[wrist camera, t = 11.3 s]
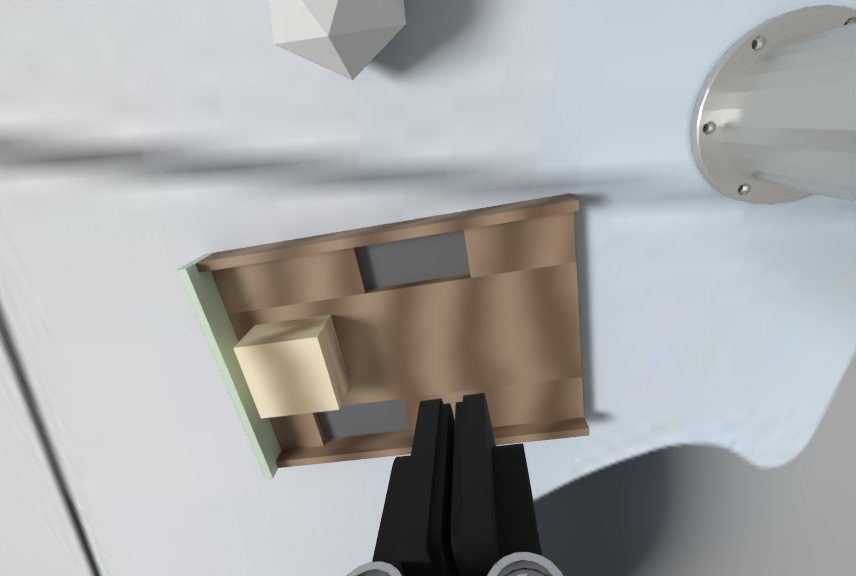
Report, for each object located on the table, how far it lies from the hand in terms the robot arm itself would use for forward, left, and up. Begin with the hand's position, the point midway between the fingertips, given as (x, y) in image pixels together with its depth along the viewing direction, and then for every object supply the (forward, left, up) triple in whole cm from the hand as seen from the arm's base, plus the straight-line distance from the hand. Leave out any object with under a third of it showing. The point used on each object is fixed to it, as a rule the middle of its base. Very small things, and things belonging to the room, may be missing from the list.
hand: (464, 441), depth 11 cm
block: (+15, +10, -24) cm, 30 cm away
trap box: (+7, +10, -25) cm, 28 cm away
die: (+5, -16, -25) cm, 30 cm away
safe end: (+21, +10, -25) cm, 34 cm away
